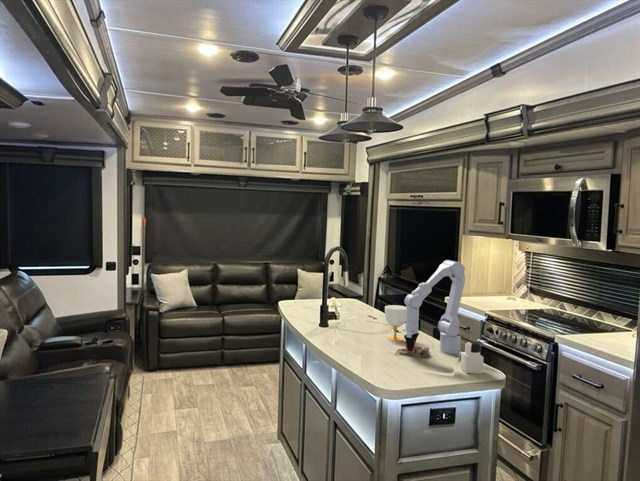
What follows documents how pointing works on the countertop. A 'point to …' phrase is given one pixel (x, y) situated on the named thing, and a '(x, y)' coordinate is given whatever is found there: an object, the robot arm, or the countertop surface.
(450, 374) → the countertop surface
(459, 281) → the robot arm
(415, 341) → the block
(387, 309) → the cup
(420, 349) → the cylinder
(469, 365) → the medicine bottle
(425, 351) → the cracker bench
